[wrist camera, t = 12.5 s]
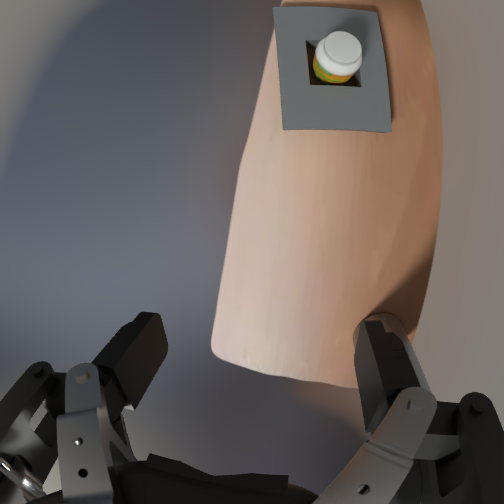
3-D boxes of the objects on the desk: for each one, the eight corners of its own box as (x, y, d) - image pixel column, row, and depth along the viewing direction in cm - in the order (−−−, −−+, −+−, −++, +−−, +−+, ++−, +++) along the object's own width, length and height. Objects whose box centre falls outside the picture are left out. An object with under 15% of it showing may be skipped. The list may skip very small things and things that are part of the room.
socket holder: (384, 132, 32) (391, 132, 30) (283, 130, 34) (282, 128, 32) (371, 20, 26) (376, 12, 23) (274, 16, 28) (272, 7, 25)
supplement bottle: (306, 76, 31) (309, 55, 22) (320, 46, 29) (327, 18, 20) (343, 93, 31) (358, 77, 22) (356, 62, 29) (374, 39, 20)
